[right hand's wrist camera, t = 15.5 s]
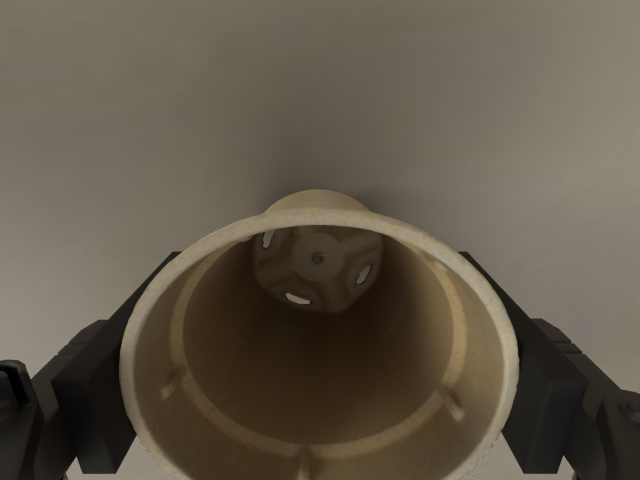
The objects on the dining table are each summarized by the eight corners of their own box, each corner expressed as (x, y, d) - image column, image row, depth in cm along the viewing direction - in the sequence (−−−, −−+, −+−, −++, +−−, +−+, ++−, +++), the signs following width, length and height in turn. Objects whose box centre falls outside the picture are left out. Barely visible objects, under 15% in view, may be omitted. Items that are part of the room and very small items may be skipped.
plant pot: (434, 148, 15) (569, 210, 7) (412, 338, 18) (484, 526, 10) (205, 148, 15) (70, 210, 7) (227, 338, 18) (155, 527, 10)
